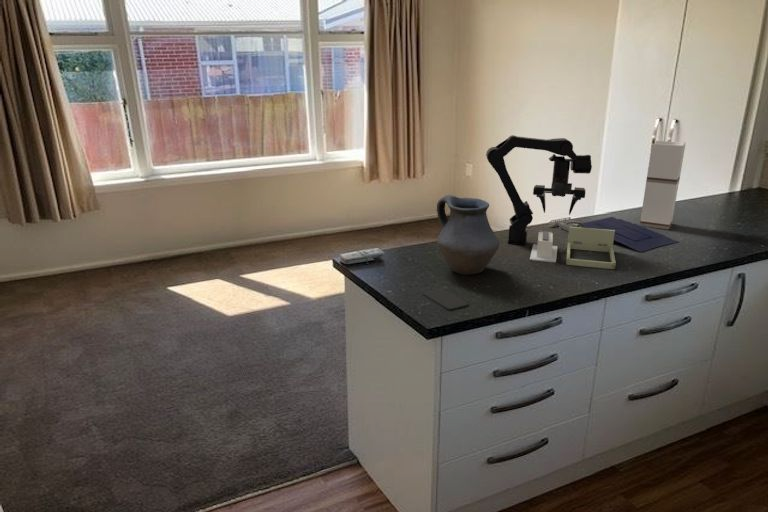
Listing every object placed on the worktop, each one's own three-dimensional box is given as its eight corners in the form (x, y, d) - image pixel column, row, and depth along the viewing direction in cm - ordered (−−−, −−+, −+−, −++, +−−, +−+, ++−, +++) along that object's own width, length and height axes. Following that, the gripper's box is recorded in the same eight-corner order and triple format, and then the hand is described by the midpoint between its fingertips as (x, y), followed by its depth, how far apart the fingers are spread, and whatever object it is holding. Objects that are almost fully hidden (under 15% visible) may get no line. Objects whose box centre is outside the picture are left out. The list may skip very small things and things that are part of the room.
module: (536, 256, 206) (538, 239, 204) (537, 246, 217) (538, 230, 215) (551, 258, 205) (552, 240, 203) (551, 247, 216) (552, 231, 214)
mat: (529, 260, 205) (529, 258, 204) (533, 245, 221) (533, 244, 221) (555, 262, 202) (555, 261, 202) (557, 247, 218) (557, 246, 218)
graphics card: (547, 220, 244) (569, 216, 249) (546, 228, 246) (569, 224, 250) (574, 230, 230) (598, 226, 234) (573, 239, 231) (597, 235, 236)
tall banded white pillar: (672, 223, 249) (685, 142, 238) (668, 229, 241) (682, 145, 230) (643, 220, 255) (655, 140, 244) (639, 225, 247) (651, 143, 235)
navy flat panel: (613, 222, 248) (615, 214, 247) (676, 248, 225) (679, 239, 224) (575, 230, 236) (577, 222, 234) (638, 258, 213) (641, 249, 212)
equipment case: (566, 264, 200) (568, 242, 197) (567, 246, 219) (569, 226, 217) (615, 269, 195) (618, 247, 193) (611, 250, 214) (614, 230, 212)
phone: (440, 287, 179) (469, 303, 167) (440, 290, 179) (469, 306, 167) (420, 292, 176) (449, 309, 163) (420, 294, 176) (448, 311, 163)
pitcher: (482, 285, 182) (486, 209, 173) (421, 272, 192) (423, 200, 184) (505, 266, 198) (510, 196, 190) (448, 256, 209) (451, 188, 201)
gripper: (533, 175, 210) (530, 216, 215) (587, 178, 204) (582, 220, 209) (535, 170, 220) (532, 209, 225) (587, 172, 214) (582, 213, 219)
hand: (556, 213), depth 219 cm, fingers open, 9 cm apart
